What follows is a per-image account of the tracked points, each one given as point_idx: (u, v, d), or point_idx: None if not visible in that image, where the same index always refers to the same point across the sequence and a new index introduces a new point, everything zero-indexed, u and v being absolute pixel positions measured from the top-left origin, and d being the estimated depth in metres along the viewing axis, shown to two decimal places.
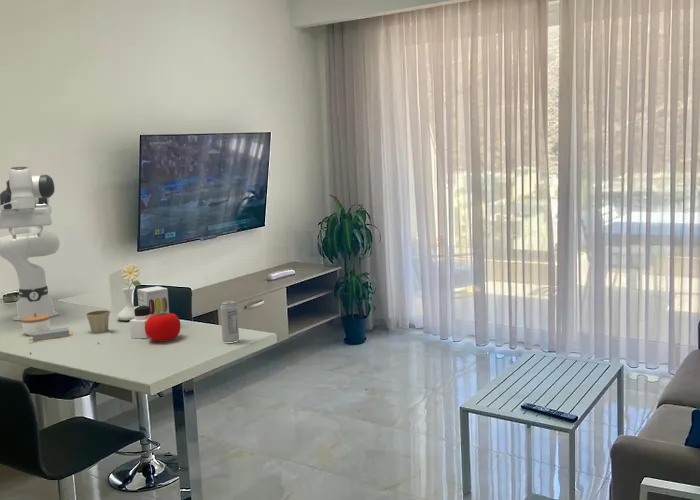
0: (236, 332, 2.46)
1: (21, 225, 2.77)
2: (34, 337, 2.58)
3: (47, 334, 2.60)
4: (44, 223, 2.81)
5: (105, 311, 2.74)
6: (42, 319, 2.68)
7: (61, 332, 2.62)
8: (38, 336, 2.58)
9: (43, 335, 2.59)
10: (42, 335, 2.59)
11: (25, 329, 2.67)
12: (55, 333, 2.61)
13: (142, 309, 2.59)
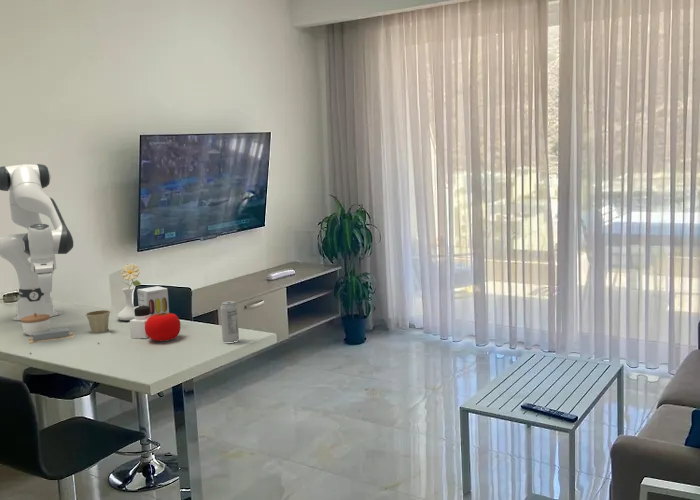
0: (236, 332, 2.46)
1: None
2: (34, 337, 2.58)
3: (47, 334, 2.60)
4: None
5: (105, 311, 2.74)
6: (42, 319, 2.68)
7: (61, 332, 2.62)
8: (38, 336, 2.58)
9: (43, 335, 2.59)
10: (42, 335, 2.59)
11: (25, 329, 2.67)
12: (55, 333, 2.61)
13: (142, 309, 2.59)
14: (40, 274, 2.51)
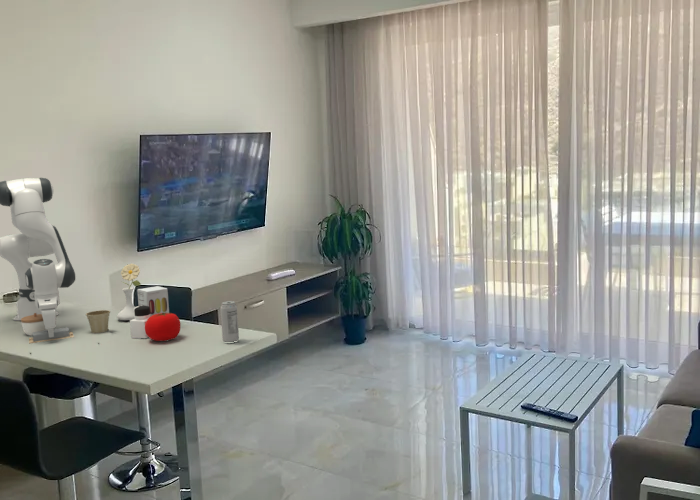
0: (236, 332, 2.46)
1: None
2: (34, 337, 2.58)
3: (47, 334, 2.60)
4: None
5: (105, 311, 2.74)
6: (42, 319, 2.68)
7: (61, 332, 2.62)
8: (38, 336, 2.58)
9: (43, 335, 2.59)
10: (42, 335, 2.59)
11: (25, 329, 2.67)
12: (55, 333, 2.61)
13: (142, 309, 2.59)
14: (44, 310, 2.53)
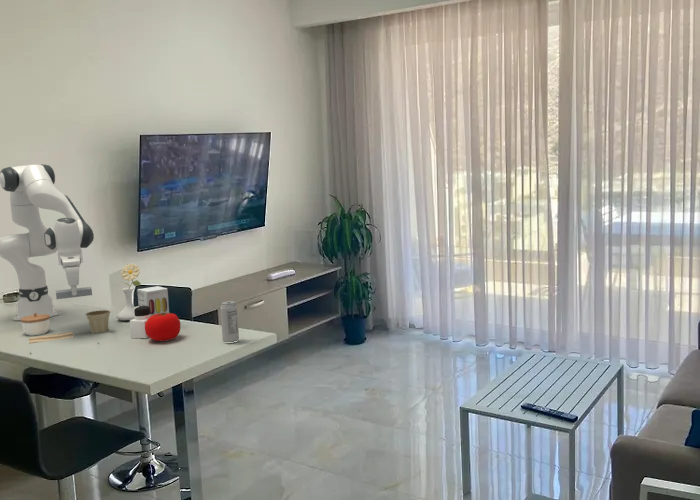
0: (236, 332, 2.46)
1: None
2: (57, 294, 2.60)
3: (70, 292, 2.61)
4: None
5: (105, 311, 2.74)
6: (42, 319, 2.68)
7: (84, 290, 2.63)
8: (61, 294, 2.60)
9: (66, 293, 2.61)
10: (65, 293, 2.61)
11: (25, 329, 2.67)
12: (78, 291, 2.63)
13: (142, 309, 2.59)
14: (67, 267, 2.55)
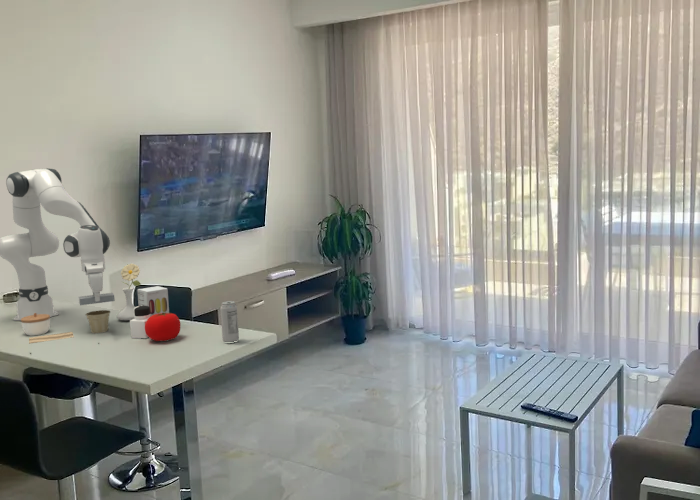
0: (236, 332, 2.46)
1: None
2: (81, 301, 2.63)
3: (93, 298, 2.65)
4: None
5: (105, 311, 2.74)
6: (42, 319, 2.68)
7: (106, 296, 2.67)
8: (85, 300, 2.64)
9: (89, 299, 2.65)
10: (88, 299, 2.65)
11: (25, 329, 2.67)
12: (101, 297, 2.67)
13: (142, 309, 2.59)
14: (91, 274, 2.59)
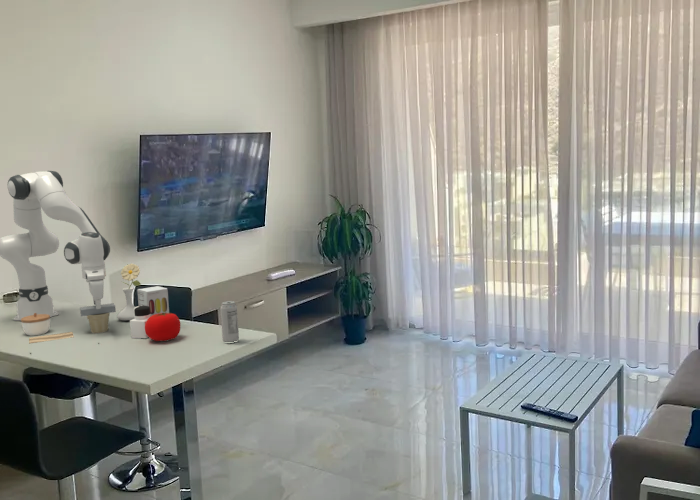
0: (236, 332, 2.46)
1: None
2: (82, 312, 2.64)
3: (94, 309, 2.66)
4: None
5: None
6: (42, 319, 2.68)
7: (108, 307, 2.68)
8: (86, 311, 2.65)
9: (91, 310, 2.65)
10: (90, 310, 2.65)
11: (25, 329, 2.67)
12: (102, 308, 2.67)
13: (142, 309, 2.59)
14: (92, 281, 2.59)
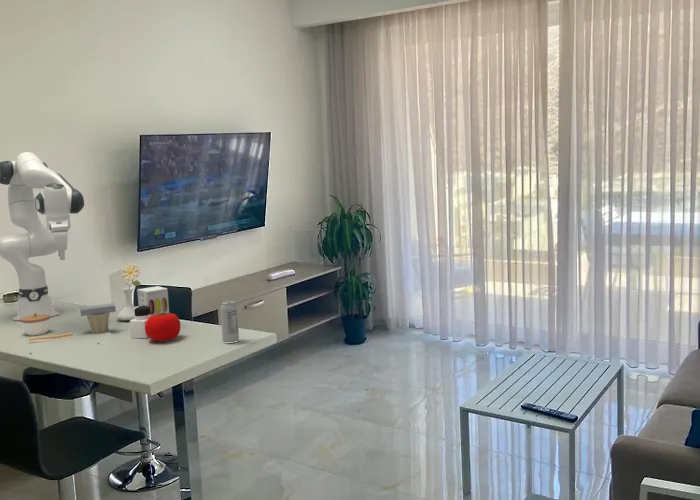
0: (236, 332, 2.46)
1: None
2: (82, 311, 2.64)
3: (94, 309, 2.66)
4: None
5: None
6: (42, 319, 2.68)
7: (108, 307, 2.68)
8: (86, 311, 2.65)
9: (91, 310, 2.65)
10: (90, 310, 2.65)
11: (25, 329, 2.67)
12: (102, 308, 2.67)
13: (142, 309, 2.59)
14: (56, 232, 2.60)
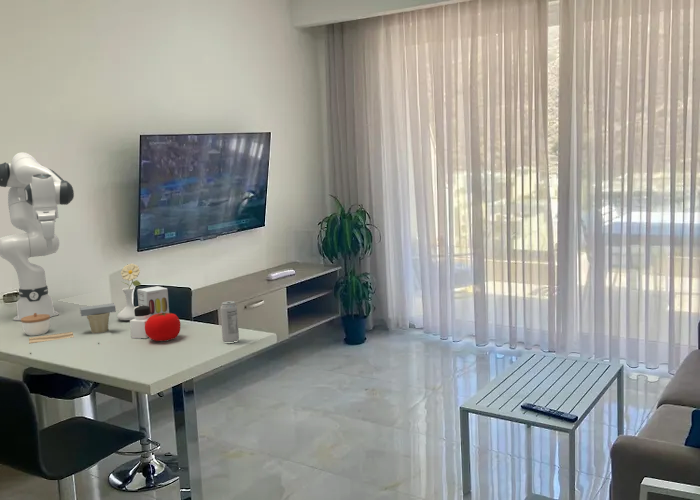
0: (236, 332, 2.46)
1: None
2: (82, 312, 2.64)
3: (94, 309, 2.66)
4: None
5: None
6: (42, 319, 2.68)
7: (108, 307, 2.68)
8: (86, 311, 2.65)
9: (91, 310, 2.65)
10: (90, 310, 2.65)
11: (25, 329, 2.67)
12: (102, 308, 2.67)
13: (142, 309, 2.59)
14: (43, 221, 2.61)
